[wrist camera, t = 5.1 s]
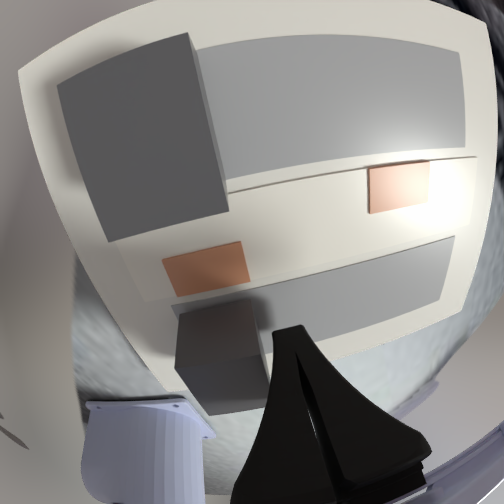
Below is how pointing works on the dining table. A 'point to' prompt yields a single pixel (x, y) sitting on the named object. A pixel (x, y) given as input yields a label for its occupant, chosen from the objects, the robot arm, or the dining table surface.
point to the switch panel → (298, 170)
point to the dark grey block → (223, 358)
